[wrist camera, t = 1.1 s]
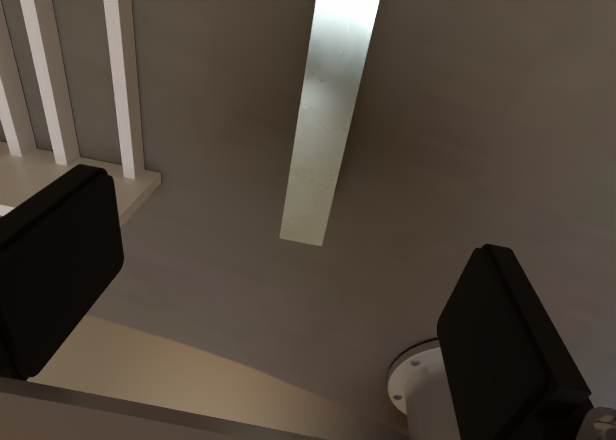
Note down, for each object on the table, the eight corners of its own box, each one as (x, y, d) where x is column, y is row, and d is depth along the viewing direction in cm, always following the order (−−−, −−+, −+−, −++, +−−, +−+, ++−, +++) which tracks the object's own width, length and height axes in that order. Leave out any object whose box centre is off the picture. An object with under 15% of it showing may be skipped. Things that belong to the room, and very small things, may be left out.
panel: (328, 192, 28) (321, 246, 22) (294, 185, 28) (279, 238, 22) (379, -39, 20) (388, -41, 15) (332, -48, 20) (324, -54, 15)
